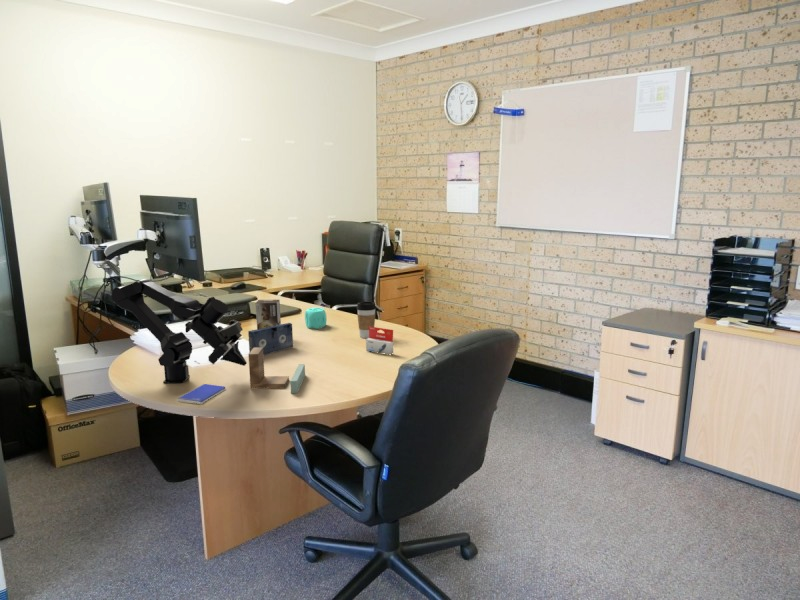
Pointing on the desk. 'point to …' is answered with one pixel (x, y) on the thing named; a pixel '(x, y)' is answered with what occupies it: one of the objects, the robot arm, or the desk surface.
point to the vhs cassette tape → (271, 338)
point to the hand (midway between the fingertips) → (245, 364)
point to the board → (297, 378)
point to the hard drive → (202, 394)
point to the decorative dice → (315, 318)
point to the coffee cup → (365, 317)
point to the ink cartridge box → (380, 340)
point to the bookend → (258, 372)
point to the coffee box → (267, 313)
